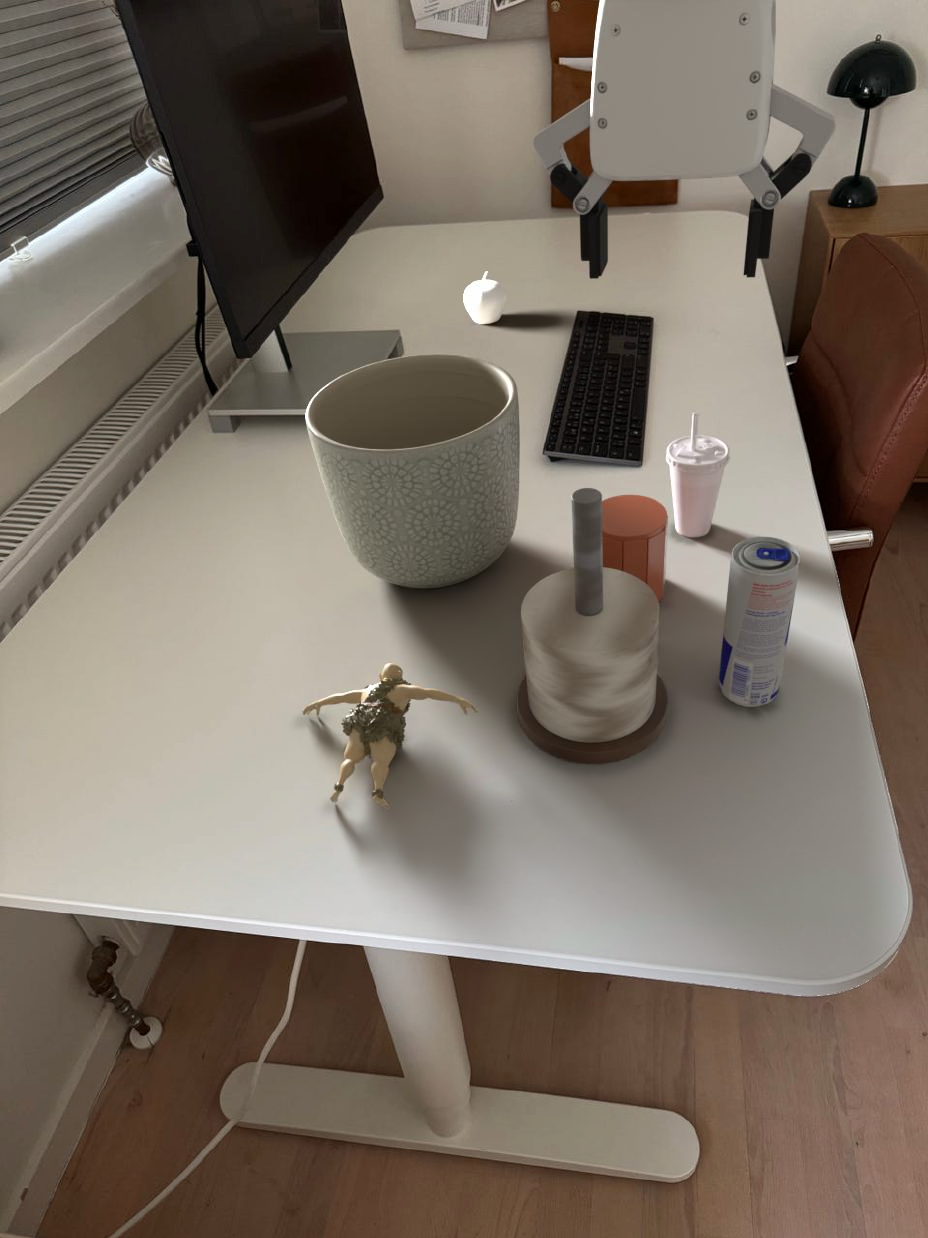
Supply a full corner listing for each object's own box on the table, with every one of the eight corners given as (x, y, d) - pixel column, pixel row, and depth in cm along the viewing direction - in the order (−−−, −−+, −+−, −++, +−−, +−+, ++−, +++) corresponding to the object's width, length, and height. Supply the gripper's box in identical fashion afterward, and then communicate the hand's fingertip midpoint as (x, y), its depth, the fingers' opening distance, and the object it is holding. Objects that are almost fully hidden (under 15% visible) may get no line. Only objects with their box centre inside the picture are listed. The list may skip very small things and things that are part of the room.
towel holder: (674, 666, 81) (687, 454, 67) (657, 775, 72) (667, 555, 58) (536, 651, 85) (520, 446, 71) (502, 752, 76) (476, 540, 62)
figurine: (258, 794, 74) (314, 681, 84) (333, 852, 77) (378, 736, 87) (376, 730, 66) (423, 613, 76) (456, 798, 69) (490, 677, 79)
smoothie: (652, 520, 100) (656, 405, 91) (704, 506, 101) (713, 391, 92) (680, 550, 95) (687, 432, 86) (734, 535, 96) (746, 417, 87)
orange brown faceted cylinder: (586, 571, 94) (584, 498, 88) (657, 564, 93) (660, 490, 88) (596, 614, 88) (594, 540, 82) (672, 607, 88) (676, 531, 82)
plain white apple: (505, 327, 146) (501, 278, 141) (463, 329, 148) (457, 280, 143) (510, 310, 152) (506, 263, 147) (469, 312, 153) (464, 265, 148)
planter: (561, 526, 101) (554, 367, 89) (468, 637, 88) (445, 469, 76) (409, 490, 110) (384, 342, 98) (304, 586, 97) (260, 429, 85)
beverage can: (778, 675, 79) (801, 536, 70) (777, 716, 76) (801, 575, 66) (719, 668, 81) (733, 531, 71) (715, 708, 77) (729, 569, 67)
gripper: (860, -85, 47) (814, 248, 58) (541, -48, 52) (553, 253, 63) (867, -73, 42) (815, 292, 53) (509, -34, 47) (529, 292, 57)
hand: (672, 270), depth 58 cm, fingers open, 9 cm apart
